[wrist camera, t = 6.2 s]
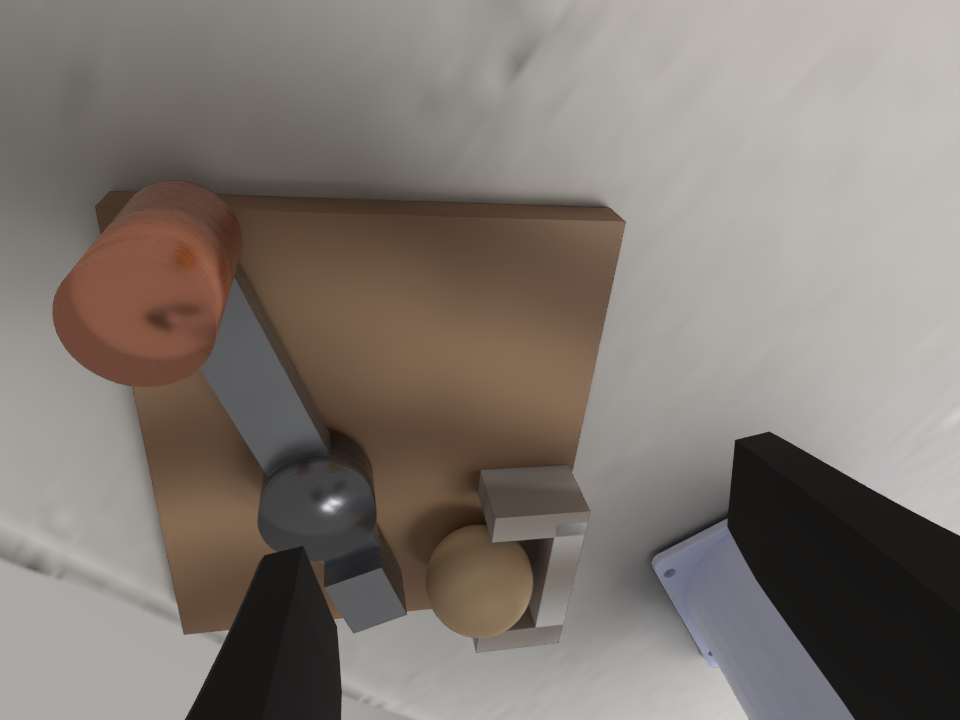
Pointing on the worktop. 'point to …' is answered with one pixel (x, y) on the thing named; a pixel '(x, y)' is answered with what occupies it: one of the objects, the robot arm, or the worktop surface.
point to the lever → (230, 379)
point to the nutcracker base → (403, 388)
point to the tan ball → (478, 582)
